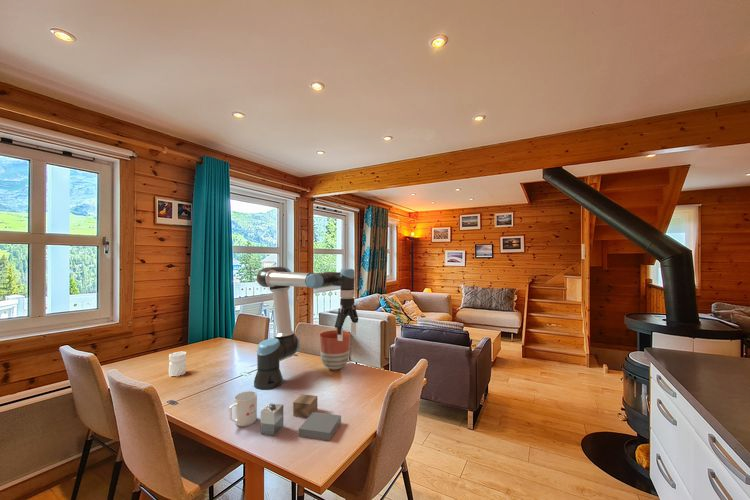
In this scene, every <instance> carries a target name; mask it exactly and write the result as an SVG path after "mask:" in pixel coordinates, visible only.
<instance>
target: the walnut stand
mask: <svg viewBox="0 0 750 500" xmlns="http://www.w3.org/2000/svg"><path fill="white" fill-rule="evenodd" d="M292 405H293V407H292V408H293V410H292V411H293V414H292V415H293V417H299V418H301V417H302V418H306V419H307V418H308V417H309V416H310V415H311V414H312V412H317V410H318V395H311V394H305V393H304V394H300V395H299V396H298V397H297V398H296V399H295V400H294V401H293V404H292Z"/></svg>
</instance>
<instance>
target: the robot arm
mask: <svg viewBox="0 0 750 500" xmlns="http://www.w3.org/2000/svg"><path fill="white" fill-rule="evenodd" d="M355 278H356V277H355V269H353V268H341V269H340V272H337V271H323V272H293V271H291V269H289V268H288V267H286V266H271V267H270V266H269V267H264V268H262V269H260V270H259V271H258V272H257V274H256V281H257V283H258V285H260V286H261V287H262V288H269V291H270V292H271V293H272V297H273V306H274V307H273V308H274V309H273V310H274V317H275V326H276V327H275V328H276V333H275V334H274V338H269V339H267V338H266V339H264V340H262V341H260V342H259V343H258V344H257V351H256V352H257V353H256V355H257V362H256V363H257V371H256V374H255V377H254V380H253V387H254V388H256V389H258V390H269V389H275V388H277V387H279V386H281V385H282V384H283V381H284V380H283V375H282V372H281V367H280V361H282V360H285V359H286V358H290V357H292V356H294V355H296V354H297V353H298V352H299V350H300V347H301V346H300V345H301V344H300V343H301V342H300V339H299V337H298V336H297V335H296V333H295V331H293V330H292V329H293V328H292V321H291V319H292V318H291V313H290V311H291V310H290V302H289V292H288V290H289V289H290V288H291V287H297V288H298V287H299V288H301V287H302V288H309V289H315V290H316V289H317V290H318V289H320V288H327V287H340V291H339V293H340V300H339V303H340V306H341V308H337V309H338V311H337V317H336V321H335V324H334V328H335V329H336V330H337V332H338V333H337V334H338V341H343V331H344V328H343V326H344V323H345V321H346V318H347V317H349V319H350V320H351V322H350V334H351V335H355V336H356V334H357V323H359V317H358V316H359V315H358V312H357V306H356V305H355V281H356V280H355Z"/></svg>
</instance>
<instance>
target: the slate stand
mask: <svg viewBox="0 0 750 500" xmlns="http://www.w3.org/2000/svg"><path fill="white" fill-rule="evenodd" d="M341 423H342V415H340V414H339V415H338V414H331V413H323V412H317V411H315V412H312V414H311V415H310V416H309V417H308V418H306V419H305V421H304V422H303V423H302V424H301V425H300V426H299V427H298V437H301V438H306V439H307V438H308V439H316V440H322V441H331V440H332V438H333V436H334V435H335V433H336V432H337V429H338V428H339V427H340V425H341Z"/></svg>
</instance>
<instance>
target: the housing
mask: <svg viewBox="0 0 750 500" xmlns="http://www.w3.org/2000/svg"><path fill="white" fill-rule="evenodd" d="M283 427H284V404H281V403H273V402H271V403H269V404H268V405H267V406H266V407H264V408H263V409H262V410H260V435H263V436H270V437H275V436H276V435H277V434H278V433H279V432H280V431H281V430H282V429H283Z"/></svg>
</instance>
